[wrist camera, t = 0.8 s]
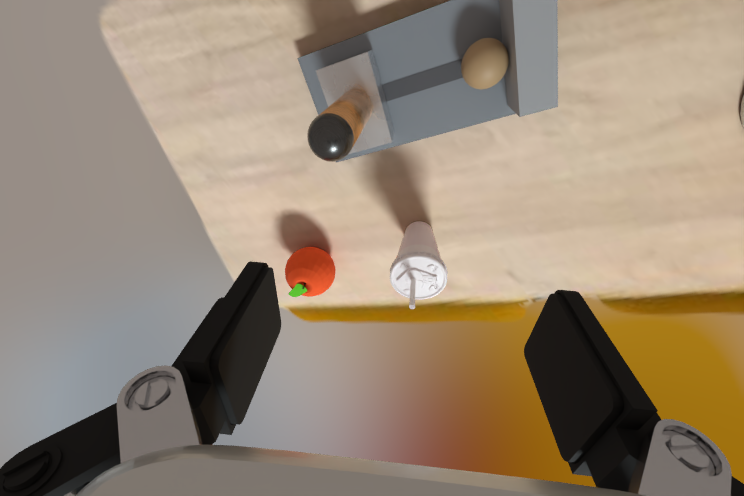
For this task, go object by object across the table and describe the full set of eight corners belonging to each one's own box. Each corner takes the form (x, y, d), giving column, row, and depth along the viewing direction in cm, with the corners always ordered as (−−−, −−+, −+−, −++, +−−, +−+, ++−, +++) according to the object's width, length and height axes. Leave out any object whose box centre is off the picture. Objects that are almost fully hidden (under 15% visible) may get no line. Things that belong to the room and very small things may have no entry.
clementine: (316, 285, 51) (303, 318, 46) (281, 259, 49) (262, 290, 43) (349, 258, 48) (339, 290, 42) (312, 228, 45) (296, 258, 40)
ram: (372, 49, 31) (339, 64, 18) (394, 133, 35) (379, 191, 22) (324, 66, 32) (264, 91, 20) (351, 145, 36) (314, 206, 24)
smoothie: (392, 214, 42) (381, 283, 31) (442, 209, 41) (449, 280, 30) (398, 254, 46) (390, 329, 34) (444, 251, 45) (452, 328, 33)
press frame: (531, -30, 28) (557, -43, 22) (536, 104, 33) (557, 118, 28) (302, 57, 34) (279, 62, 28) (338, 158, 39) (325, 178, 34)
